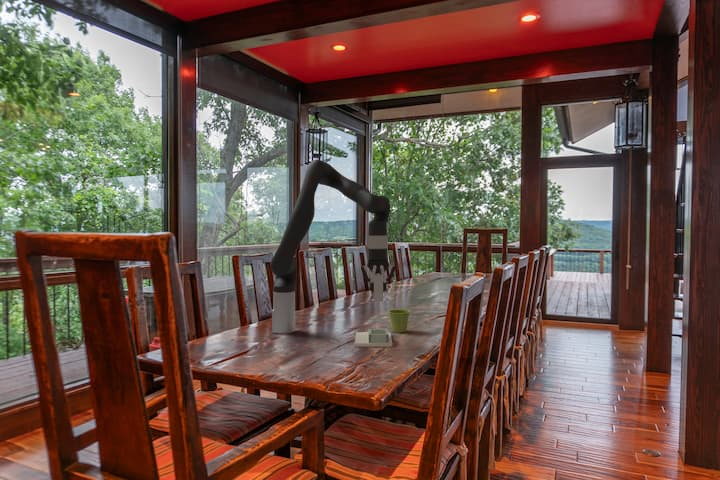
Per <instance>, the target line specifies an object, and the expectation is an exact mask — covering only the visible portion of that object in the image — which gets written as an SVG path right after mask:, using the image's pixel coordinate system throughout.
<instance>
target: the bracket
mask: <svg viewBox="0 0 720 480" xmlns="http://www.w3.org/2000/svg"><path fill="white" fill-rule="evenodd" d="M373 282H374V293H373V302H374V303H375V302H376V303H377V302H378V303H379V302H381V303H383V302H384V293H383V275H382V274H375V275H374V281H373Z"/></svg>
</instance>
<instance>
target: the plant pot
mask: <svg viewBox="0 0 720 480" xmlns="http://www.w3.org/2000/svg"><path fill="white" fill-rule="evenodd" d="M387 312H388V314H389V318H390V323H391V324H390V325H391V331H392V332H393V333H395V334H396V333H399V334H401V333H406V332H407V331H408V323H409V316H410V313H411V311H410V310H408V309H401V308H400V309H389V310H387Z"/></svg>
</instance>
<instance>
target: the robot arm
mask: <svg viewBox="0 0 720 480" xmlns="http://www.w3.org/2000/svg"><path fill="white" fill-rule="evenodd" d="M306 168H307V169H306V172H305V175H304V178H303V182H302V184H301V189H300V191H299V194H298V197H297V199H296V203H295V205H294V207H293V209H292V212H291V214H290V216H289V219H288V222H287V224H286V227H285V230H284V233H283V236H282V238H281V241H280V243H279V246H278V247H277V248H276V249H277V250H276V251H275V253H274V255H273V257H272V258H271V261H270V271H271V272H272V274H273V275H275V281H274V283H273V285H272V294H273V295H272V299H273V301H272V303H273V304H272V305H273V306H272V308H273V309H272V311H271V314H272V315H271V318H272V319H271V322H272V323H271V324H272V326H271V327H272V329H271V330H272V331H271V333H273V334H281V335H282V334H283V335H284V334H292V333H294V332H296V291H295V290H296V286H297V285H296V284H297V268H298V267H297V261H296V259H295V253H296V251H297V249H298V247H299V245H300V244H301V242H302V241H303V240H304V238H305V236H307V233H308V232H309V231H310V228H311V225H312V223H313V221H314V218H315V213H316V211H315V209H316V207H315V195H316V192H317V189H318V186H319V185H322V186H326V187H330V188H332V189H335V190H337V191H339V192H340V193H341V194H342V195H343V196H345V197H346V198H347V199H349V200H350V201H352V202H354V203H356V204H358V205H359V206H360V207H361V208H362V209H363V210H364V211H366V212H367V213H369V214H374V217H373V219H372V220H370V221H369V222H368V240H367V250H368V251H367V253H368V254H367V255H368V256H367V258H368V261H367V264H365V265H361V266H360V269H361V272H362V275H363V277H364V280H365V282H369V284H370V286H369V287H370V289H369V290H370V292H371V293H373V294H374V275H375V274H382V275H383V294H384V293H386V292H387V290H388V289H387V284H388V282H391V281H392V279H393V276H394V273H395V271H396V269H397V268H396V265H392V264H390V262H389V250H388V249H389V244H388V242H389V241H388V221H389V217H390V212H391V202H390V200H389V198H388V197H386V196H385V195H379V194H373V193H371V192H370V190H369V189H368V188H367V187H365V186H364V185H362V184H360V183H358V182H356V181H354V180H352V179H349V178H347V177H346V176H344V175H343V174H341V172H339V171H337V170H336V169H335V168H334V167H333V166H332V165H331V164H329V163H328V162H326V161H323V160H321V159H317V158H316V159H314V160H312V161H311V162H310V163H309V165H308V166H307V167H306ZM388 268H389V274H388V277H386V271H387V270H388ZM368 269H369V270H370V272H371V275H370V278H369V276H368V273H367V270H368Z"/></svg>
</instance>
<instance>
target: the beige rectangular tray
mask: <svg viewBox="0 0 720 480" xmlns="http://www.w3.org/2000/svg"><path fill="white" fill-rule="evenodd" d="M392 340H393V339H392V334H391V332H389V329H388V328H369V329H368V331H367V332H364V331H363V332H355V338H354V347H356V348H357V347H363V348H364V347H366V348H368V347H369V348H370V347H373V348H374V347H375V348H376V347H379V348H380V347H383V348H385V347H386V348H387V347H388V348H389V347H393V341H392Z"/></svg>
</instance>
